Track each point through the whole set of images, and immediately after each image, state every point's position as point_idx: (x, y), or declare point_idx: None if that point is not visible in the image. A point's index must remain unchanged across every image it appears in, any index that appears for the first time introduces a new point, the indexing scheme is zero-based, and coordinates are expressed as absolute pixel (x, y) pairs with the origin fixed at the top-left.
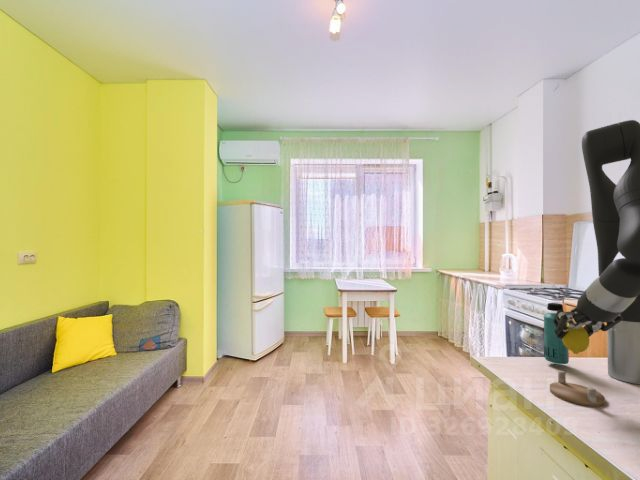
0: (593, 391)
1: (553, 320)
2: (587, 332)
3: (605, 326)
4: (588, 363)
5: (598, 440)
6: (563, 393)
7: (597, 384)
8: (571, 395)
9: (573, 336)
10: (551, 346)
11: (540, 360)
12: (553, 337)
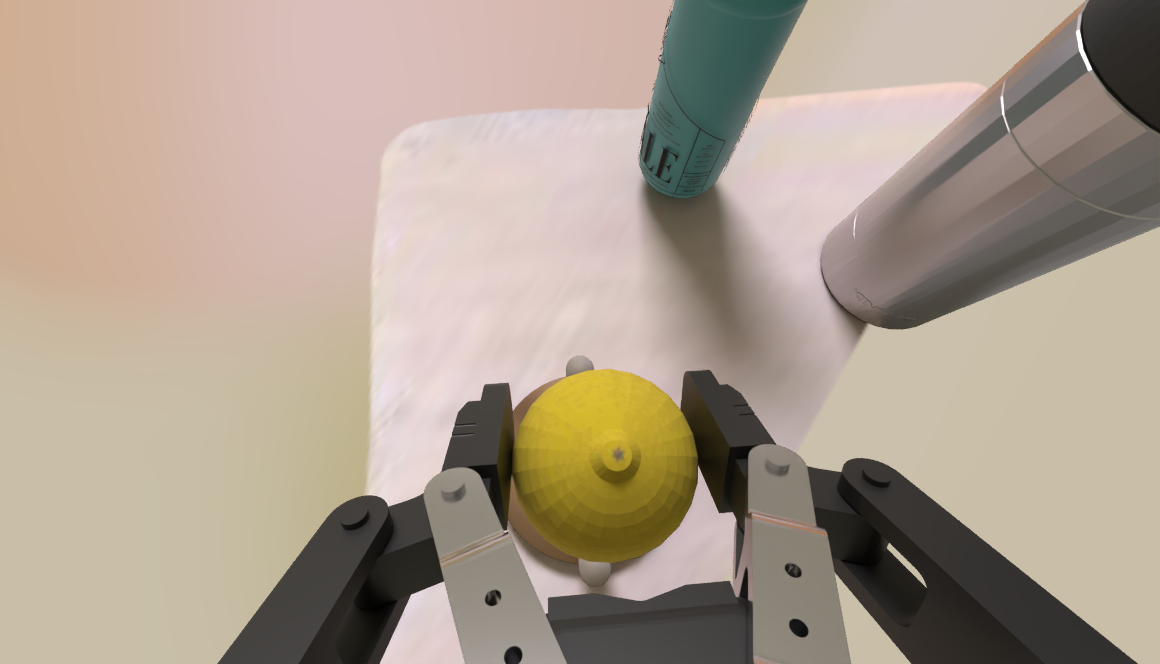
0: (592, 584)
1: (309, 549)
2: (708, 466)
3: (869, 597)
4: (808, 146)
5: None
6: None
7: (728, 343)
8: None
9: (547, 539)
10: (662, 135)
11: (637, 135)
12: (681, 103)
